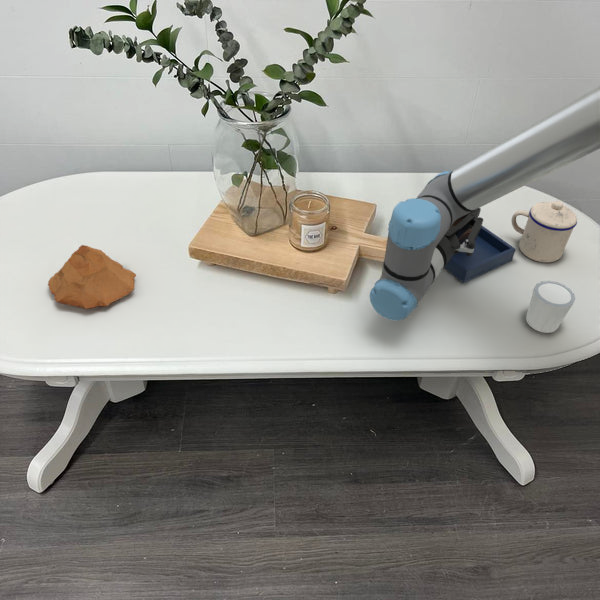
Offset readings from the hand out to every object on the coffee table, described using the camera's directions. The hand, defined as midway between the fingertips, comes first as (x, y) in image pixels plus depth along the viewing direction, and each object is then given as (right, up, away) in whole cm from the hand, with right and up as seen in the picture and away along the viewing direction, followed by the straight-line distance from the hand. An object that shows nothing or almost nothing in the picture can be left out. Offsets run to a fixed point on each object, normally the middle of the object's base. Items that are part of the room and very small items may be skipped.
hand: (471, 199), depth 118 cm
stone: (-74, -18, -10) cm, 77 cm away
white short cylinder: (+9, -25, -14) cm, 30 cm away
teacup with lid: (+14, -10, +2) cm, 17 cm away
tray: (-3, -10, +1) cm, 10 cm away
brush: (-3, -9, +2) cm, 9 cm away
